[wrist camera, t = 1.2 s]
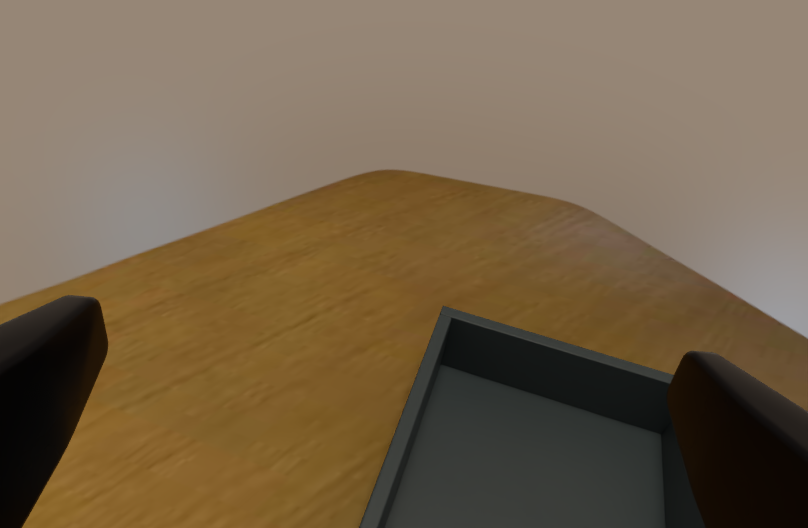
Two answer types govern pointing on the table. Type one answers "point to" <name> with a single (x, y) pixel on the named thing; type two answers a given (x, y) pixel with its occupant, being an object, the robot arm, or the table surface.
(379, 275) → the table surface
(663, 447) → the bin
